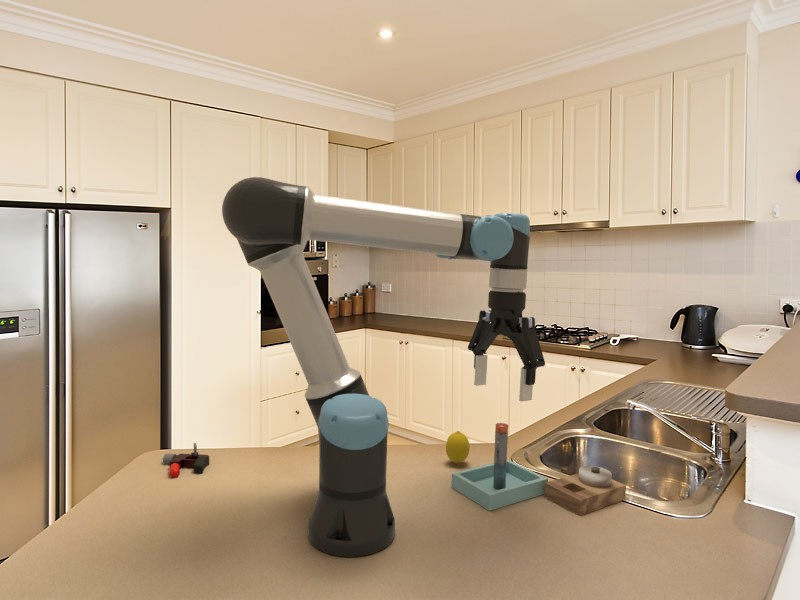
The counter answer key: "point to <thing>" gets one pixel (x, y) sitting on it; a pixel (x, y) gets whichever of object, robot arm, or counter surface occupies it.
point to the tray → (517, 489)
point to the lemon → (457, 447)
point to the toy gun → (186, 462)
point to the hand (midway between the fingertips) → (501, 392)
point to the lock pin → (500, 456)
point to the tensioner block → (585, 490)
